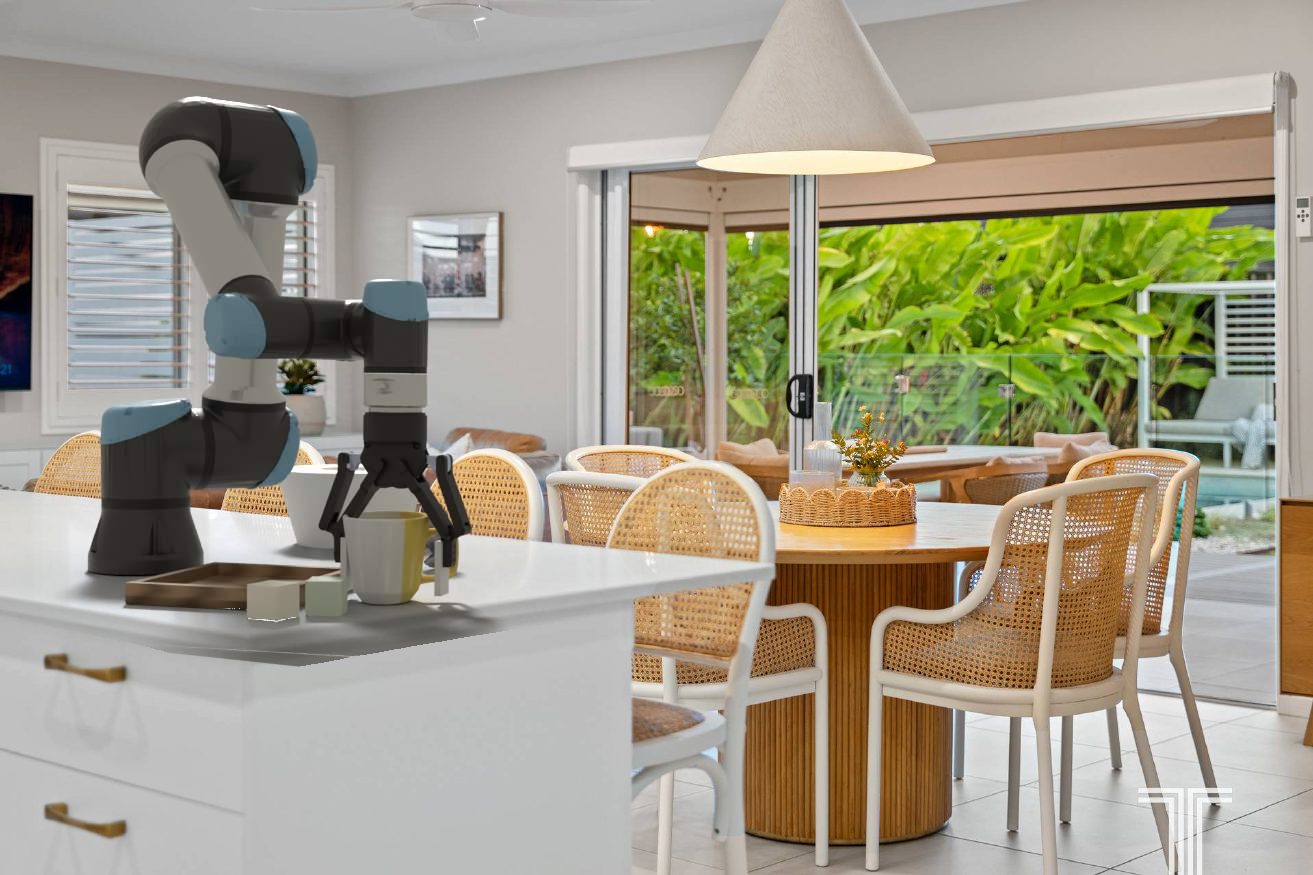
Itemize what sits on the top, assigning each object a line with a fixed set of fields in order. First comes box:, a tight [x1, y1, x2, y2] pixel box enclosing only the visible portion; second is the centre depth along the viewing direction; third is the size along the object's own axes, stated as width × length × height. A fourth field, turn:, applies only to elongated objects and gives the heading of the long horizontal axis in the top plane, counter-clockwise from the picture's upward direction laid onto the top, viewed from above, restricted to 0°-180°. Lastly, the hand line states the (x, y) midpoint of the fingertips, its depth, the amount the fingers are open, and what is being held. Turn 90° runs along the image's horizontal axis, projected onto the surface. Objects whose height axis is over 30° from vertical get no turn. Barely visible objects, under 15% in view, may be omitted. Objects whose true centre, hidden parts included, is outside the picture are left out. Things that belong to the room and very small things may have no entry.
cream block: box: [246, 580, 300, 621], centre depth 160 cm, size 4×4×4 cm
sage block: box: [304, 576, 349, 617], centre depth 164 cm, size 4×4×4 cm
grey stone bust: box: [420, 503, 450, 569], centre depth 204 cm, size 5×5×10 cm
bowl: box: [279, 463, 428, 550], centre depth 233 cm, size 24×24×12 cm
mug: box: [343, 510, 460, 606], centre depth 173 cm, size 14×10×10 cm
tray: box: [124, 561, 340, 610], centre depth 176 cm, size 20×20×2 cm
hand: (394, 592), depth 173 cm, fingers closed on mug, 11 cm apart
